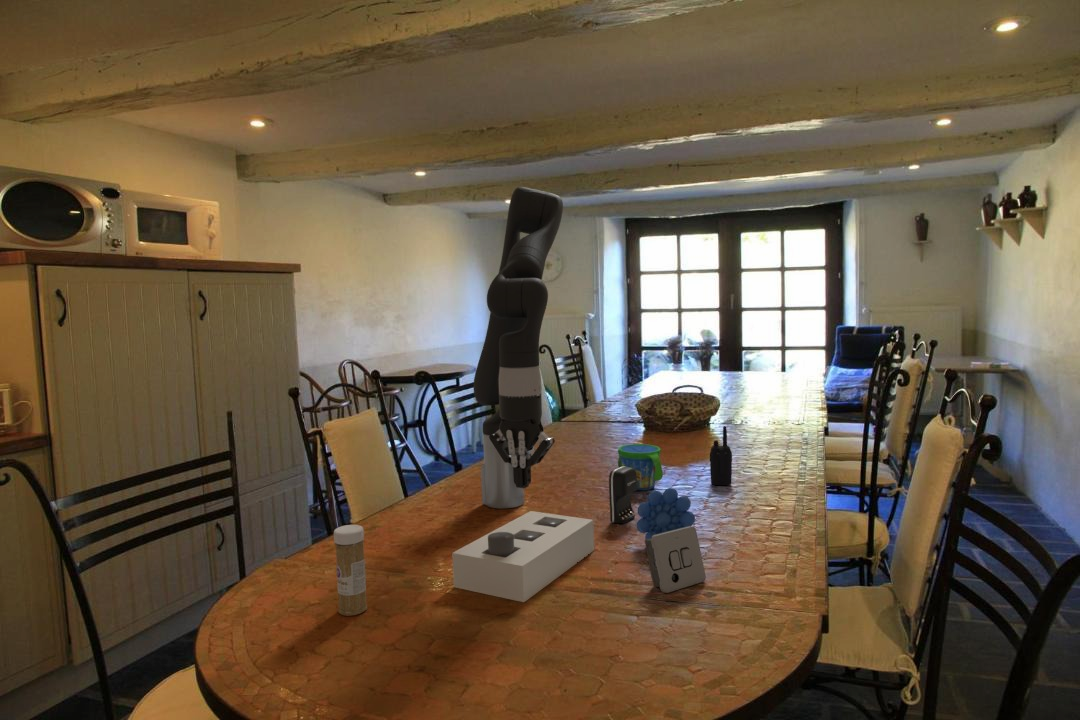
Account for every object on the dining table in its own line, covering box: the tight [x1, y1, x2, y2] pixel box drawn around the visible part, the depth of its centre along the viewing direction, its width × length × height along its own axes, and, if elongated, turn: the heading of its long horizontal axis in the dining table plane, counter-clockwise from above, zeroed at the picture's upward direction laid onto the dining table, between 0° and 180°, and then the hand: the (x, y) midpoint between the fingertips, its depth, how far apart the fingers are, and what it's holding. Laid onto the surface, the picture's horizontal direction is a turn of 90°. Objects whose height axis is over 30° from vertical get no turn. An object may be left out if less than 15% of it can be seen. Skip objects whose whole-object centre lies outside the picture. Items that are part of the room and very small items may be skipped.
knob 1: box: [488, 532, 514, 558], centre depth 121 cm, size 4×4×5 cm
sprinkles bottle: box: [333, 524, 368, 617], centre depth 112 cm, size 5×5×14 cm
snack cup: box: [617, 443, 664, 491], centre depth 180 cm, size 16×10×10 cm
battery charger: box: [608, 466, 638, 524], centre depth 154 cm, size 7×4×11 cm, turn 144°
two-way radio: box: [709, 425, 733, 486], centre depth 179 cm, size 6×4×15 cm
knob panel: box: [451, 510, 595, 603], centre depth 128 cm, size 14×26×6 cm, turn 150°
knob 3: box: [539, 519, 562, 527], centre depth 136 cm, size 4×4×5 cm
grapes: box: [636, 487, 696, 541], centre depth 136 cm, size 12×7×12 cm, turn 61°
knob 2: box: [515, 532, 539, 542], centre depth 128 cm, size 4×4×5 cm
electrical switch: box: [644, 525, 707, 594], centre depth 119 cm, size 9×5×9 cm, turn 121°
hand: (522, 487), depth 127 cm, fingers closed
